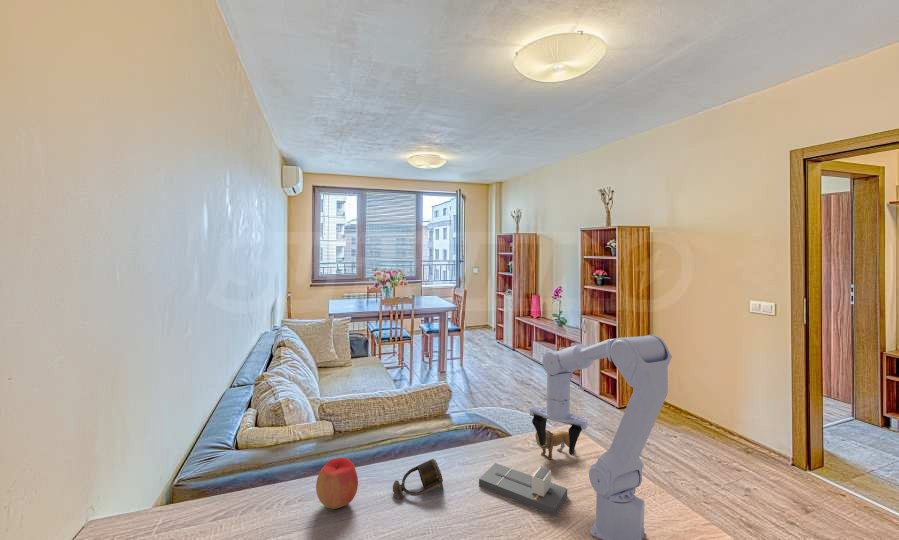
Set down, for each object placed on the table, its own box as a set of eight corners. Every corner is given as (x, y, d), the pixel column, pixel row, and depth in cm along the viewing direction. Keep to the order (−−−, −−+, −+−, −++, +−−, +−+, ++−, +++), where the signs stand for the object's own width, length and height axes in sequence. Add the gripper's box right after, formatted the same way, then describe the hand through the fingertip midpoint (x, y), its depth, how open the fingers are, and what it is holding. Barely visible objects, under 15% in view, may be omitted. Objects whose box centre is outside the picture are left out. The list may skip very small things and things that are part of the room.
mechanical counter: (445, 483, 91) (446, 452, 101) (392, 477, 91) (398, 447, 101) (442, 507, 93) (444, 474, 103) (390, 501, 93) (396, 470, 103)
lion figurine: (542, 465, 109) (543, 434, 108) (530, 456, 114) (531, 427, 113) (580, 453, 116) (581, 424, 115) (567, 445, 120) (567, 417, 120)
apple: (320, 494, 95) (319, 454, 95) (359, 490, 97) (359, 451, 96) (313, 520, 86) (312, 477, 85) (356, 516, 87) (356, 473, 87)
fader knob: (550, 486, 95) (551, 470, 95) (543, 496, 91) (544, 479, 91) (539, 482, 97) (539, 466, 97) (531, 492, 93) (532, 475, 93)
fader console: (567, 496, 95) (567, 488, 95) (555, 516, 88) (555, 507, 88) (495, 469, 106) (495, 462, 106) (478, 486, 99) (479, 478, 99)
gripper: (591, 398, 99) (589, 450, 99) (536, 386, 107) (535, 434, 107) (583, 407, 93) (582, 462, 93) (527, 394, 101) (526, 445, 101)
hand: (556, 448), depth 100 cm, fingers open, 7 cm apart
